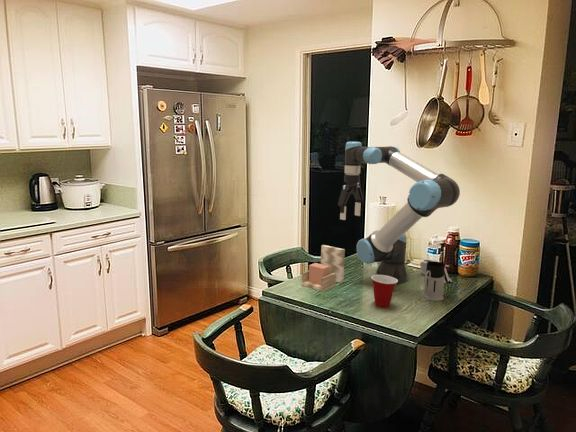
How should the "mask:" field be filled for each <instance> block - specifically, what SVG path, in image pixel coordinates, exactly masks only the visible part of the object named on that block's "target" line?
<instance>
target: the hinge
mask: <svg viewBox="0 0 576 432" xmlns="http://www.w3.org/2000/svg"><path fill="white" fill-rule="evenodd" d="M431 261H435V262H437V261H436V260H435V259H430V258H427V259H424V260H423V261H421V262H419V264H420V271H421V272H420V273H421V274H422V275H424V276H425V274H426V268H427V262H431ZM444 275H445V276H444V283H445V284H447V282H449V281H450V282H449V283H452V282H453V281H452V278H450V277H449V274H448V271H447V268H446V267H445V271H444Z"/></svg>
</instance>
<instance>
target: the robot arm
mask: <svg viewBox="0 0 576 432" xmlns="http://www.w3.org/2000/svg"><path fill="white" fill-rule="evenodd" d="M344 151H345V153H344V176H343V182H344V183H345V184H343V185H342V186H341V191H340V195H339V198H338V202H337V206H339V207H340V208H339V209H340V211H339V213H340V214H339V220H342V221H346V220H347V218H346V217H347V214H346V213H347V206H346V205H347V203H348V200H349V198H350V196H351V195H353V197H354V200H355V202H354V204H355V205H354V216H357V217H361V203H364V199H365V198H364V195H363V190H362V184H361V183H362V182H361V175H360V174H361V166H362V165H361V164H368V165H377V164H386V165H388V166H389V167H391V168H393V169H395V170H397V171H398V172H400V173H402V174H403V175H405V176H406V177H407V178H410V179H411V180H413V181H415V183H414V184H413V185H412V186H411V187H410V188H409V192H408V193H409V194H408V196H407V200H406V201H407V202H406V203H405V204H404V205H403V207H401V208H400V209H399V210H398V211H397V213H395V214H394V215H393V216H392V217H391V218H390V219H389V220H388V221H387V222H386V223H385V224H384V225H383V226H382V227H381V228H380V229H379V230H378V229H377V230H374V231H372V233H370V234H369V236H368V237H366V238H361V239H359V240H358V241H357V243H356V253H357V256H358V258H359V260H360V261H361V262H362V263H364V264H366V265H369V264H374V263H377V262H379V264H378V267H377V269H376V272H375V275H386V276H390V277H393V278H395V279H397V280H398V282H397V283H396V284H402V283H406V282H407V281H408V279H409V276H408V275H409V274H408V272H407V267H406V253H407V251H406V250H407V243H408V241H407V236H406V232H408V231H410V229H412V227H414V225H415V224H417V222H419V221H420V220H421V219H423V218H428V217H430V216H431V215H432V214H433V213H434V212H435V211H437V210H438V209H442V208H449V207H451V206H453V205H454V204H456V202H458V200H459V198H460V195H461V191H460V190H461V189H460V186H459V184H458V183H457V182H456V181H455V180H454V179H453V178H451V177H449V176H448V175H446V174H444V173H437V172H435V171H434V170H432V169H430V168H428V167H426V166H424V165H423V164H422V163H419V162H418V161H415V160H414V159H412V158H410V157H409V156H407V155H405V154H403V153H401V150H400V149H399V148H398V147H396V146H391V145H389V146H362V142H360V141H347V142H346V143H345V149H344Z"/></svg>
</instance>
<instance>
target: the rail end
mask: <svg viewBox="0 0 576 432" xmlns="http://www.w3.org/2000/svg"><path fill="white" fill-rule="evenodd" d="M329 269H330V266H326V265H322V264H321V263H318V262H313V263H312V264H309V265H308V270H309V282H311V283H315V284H318V285H321V278H322V277H325V276H327V275H329Z"/></svg>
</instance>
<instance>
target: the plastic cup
mask: <svg viewBox="0 0 576 432" xmlns="http://www.w3.org/2000/svg"><path fill="white" fill-rule="evenodd" d="M370 279H371V281H372V288H373V289H372V291H373V297H374V304H375V307H377V308H380V309H387V308H389V307H390V306H391V301H392V299H393V295H394V290H395V287H396V284H398V283H397V282H398V280H397V279H395V278H393V277H390V276H386V275H376V274H374V275H373V274H372V275H371V278H370Z"/></svg>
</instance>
